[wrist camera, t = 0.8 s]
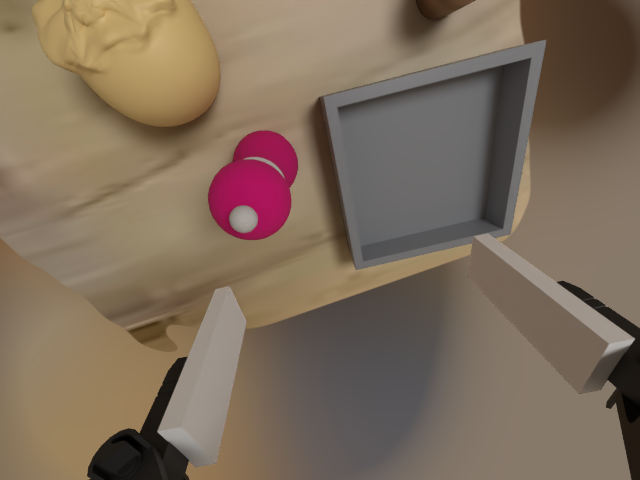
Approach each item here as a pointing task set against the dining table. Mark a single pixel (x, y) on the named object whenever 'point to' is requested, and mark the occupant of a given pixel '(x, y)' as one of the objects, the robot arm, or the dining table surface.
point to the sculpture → (135, 54)
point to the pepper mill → (255, 187)
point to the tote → (432, 154)
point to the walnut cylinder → (440, 7)
